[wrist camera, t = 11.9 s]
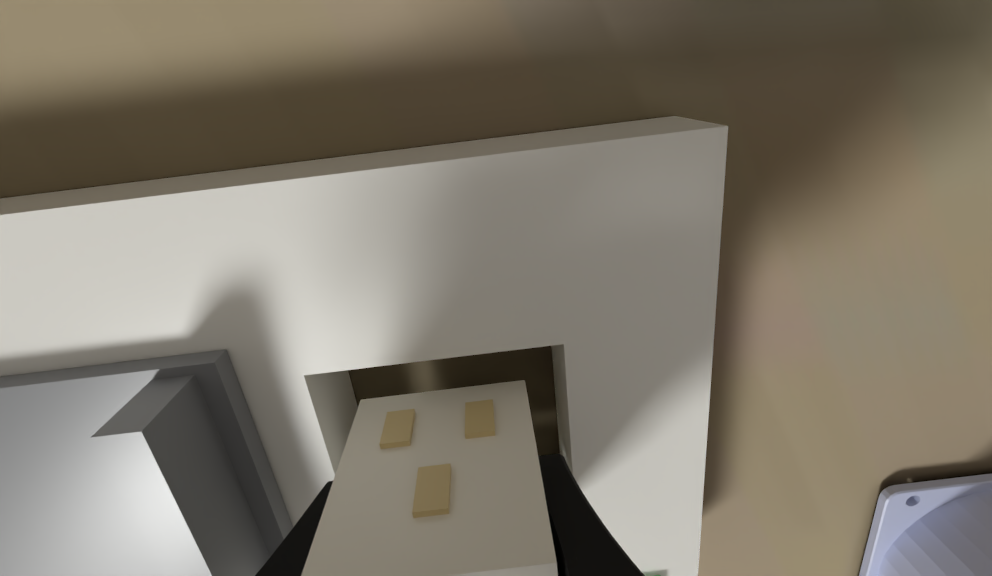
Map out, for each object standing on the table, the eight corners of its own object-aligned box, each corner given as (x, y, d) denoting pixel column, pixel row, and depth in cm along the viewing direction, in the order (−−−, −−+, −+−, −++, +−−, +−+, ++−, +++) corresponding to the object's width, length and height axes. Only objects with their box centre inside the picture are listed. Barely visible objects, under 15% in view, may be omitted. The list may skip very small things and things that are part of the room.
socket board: (674, 116, 13) (735, 127, 10) (663, 544, 19) (698, 631, 16) (-107, 211, 13) (-279, 251, 10) (132, 607, 20) (69, 705, 17)
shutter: (226, 349, 12) (164, 417, 10) (316, 589, 15) (287, 684, 13) (-124, 391, 12) (-274, 470, 10) (42, 621, 15) (-38, 722, 13)
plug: (524, 375, 13) (566, 615, 8) (537, 501, 15) (579, 775, 9) (359, 395, 13) (271, 650, 8) (392, 519, 15) (342, 802, 9)
